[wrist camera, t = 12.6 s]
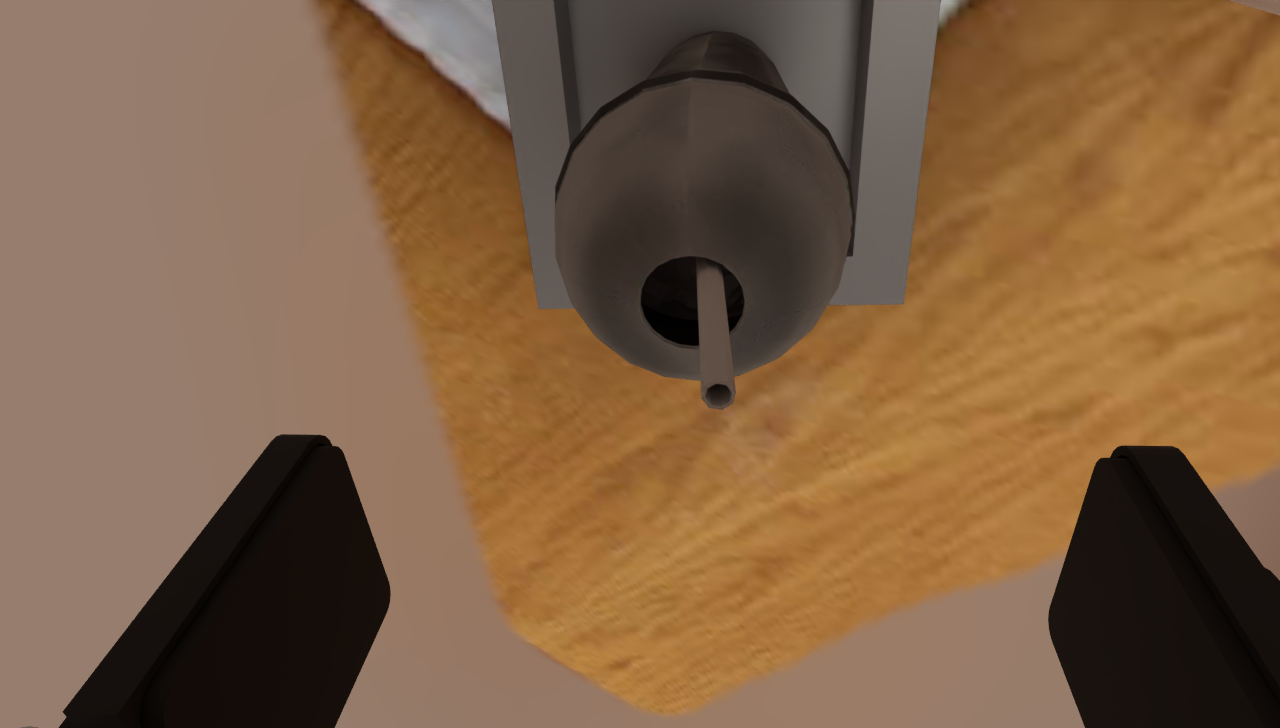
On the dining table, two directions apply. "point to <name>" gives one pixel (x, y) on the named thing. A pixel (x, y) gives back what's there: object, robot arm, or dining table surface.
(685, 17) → the tray
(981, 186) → the dining table surface
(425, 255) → the dining table surface
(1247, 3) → the milk
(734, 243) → the beverage cup
